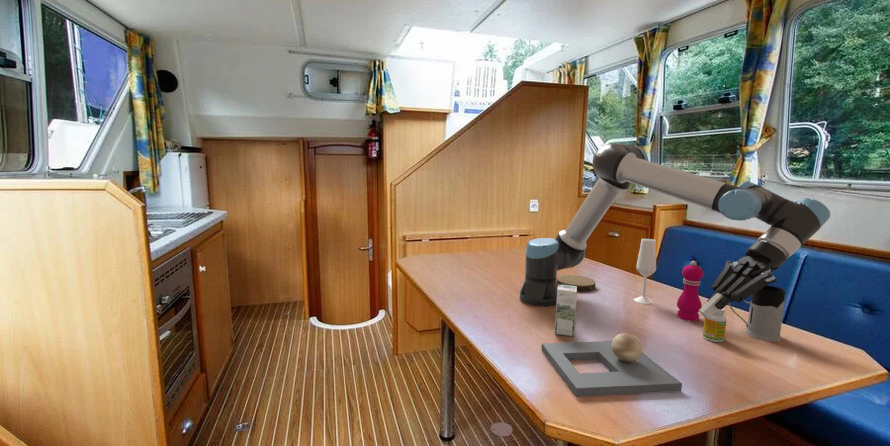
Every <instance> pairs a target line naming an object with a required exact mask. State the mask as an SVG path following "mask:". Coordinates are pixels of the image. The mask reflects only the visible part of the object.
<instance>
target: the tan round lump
mask: <svg viewBox="0 0 890 446" xmlns="http://www.w3.org/2000/svg"><path fill="white" fill-rule="evenodd" d="M611 341H612V351H613V353H614V355H615V356H616V357H617V358H618V359H620V360H622V361H624V362H633V361H636V360H637V359H638V358H639V357H640V356H641V354H642V352H643V346H642V343H641V341H640V340H639V339H638V338H637V336H635V335H633V334H631V333H629V332H628V333H627V332H622V333H619V334H616V335H615V336H614V337H613V339H612V340H611Z"/></svg>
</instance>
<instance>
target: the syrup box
mask: <svg viewBox="0 0 890 446" xmlns="http://www.w3.org/2000/svg"><path fill="white" fill-rule="evenodd" d="M577 296H578V292H577V286H568V285H558V289H557V303H556V305H555V306H556V307H555V308H556V309H555V322H554V323H555V325H554V334H555V335H559V336H565V337H572V338H573V337H575V326H576V312H577Z"/></svg>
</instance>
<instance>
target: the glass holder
mask: <svg viewBox="0 0 890 446" xmlns="http://www.w3.org/2000/svg"><path fill="white" fill-rule="evenodd" d="M743 301H744V302H745V303H746V304H749V312H748V317H747V318H748V319H747V321H746V320H745V319H744V318H743V317H742V316H740V315H739V314H738V313H737V312H736V311H735V310H734V308H733V306H732V305H731V302H729V303H728V305H729V308H730V309H731V311H732V312H733V313H734V314H735V315H736V316H737V317H738V318H739V319H740V320H742V321H743V323H745V326H746V328H745V330H744V333H745V335H746V334H747V336H749V337H752V338H754V339H757V340H761V341H766V342H775V343H776V342H780V341H782V337H781V330H782V323H783V316H784V315H783V314H784V311H785V303H786V290H785V289H783V288H782V287H781V288H780V287H778V286H772V285H769V284H768V285H766V286H765V287H763V288H762V289H760V290H759V291H757V292H756V293H754V294H753V295H751V300H750V302H749V301H747V300H746V299H745V300H743Z"/></svg>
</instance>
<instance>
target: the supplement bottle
mask: <svg viewBox="0 0 890 446" xmlns="http://www.w3.org/2000/svg"><path fill="white" fill-rule="evenodd" d="M725 311H726V310H725V307H724V308H723V309H722V310H719V311H718V312H717V313H716V314H715V315H714V316H713V317H711V318H710V319H707V318H705V317H704V316H703V317H704V318H703V319H704V320H703V329H702V338H704V339H705V340H707V341H709V342H715V343H723V342H724V341H725V335H726V330H727V329H726V326H727V316H726V315H725Z"/></svg>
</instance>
